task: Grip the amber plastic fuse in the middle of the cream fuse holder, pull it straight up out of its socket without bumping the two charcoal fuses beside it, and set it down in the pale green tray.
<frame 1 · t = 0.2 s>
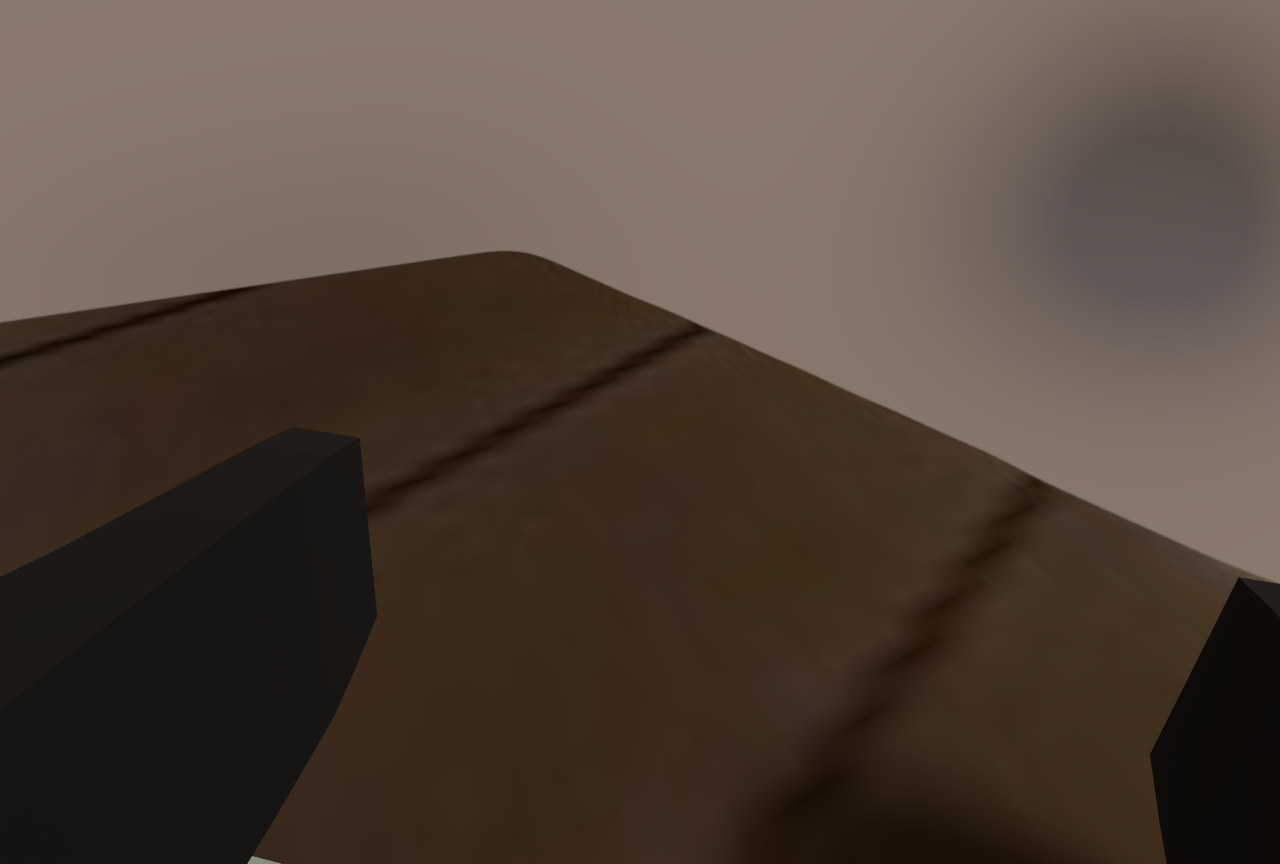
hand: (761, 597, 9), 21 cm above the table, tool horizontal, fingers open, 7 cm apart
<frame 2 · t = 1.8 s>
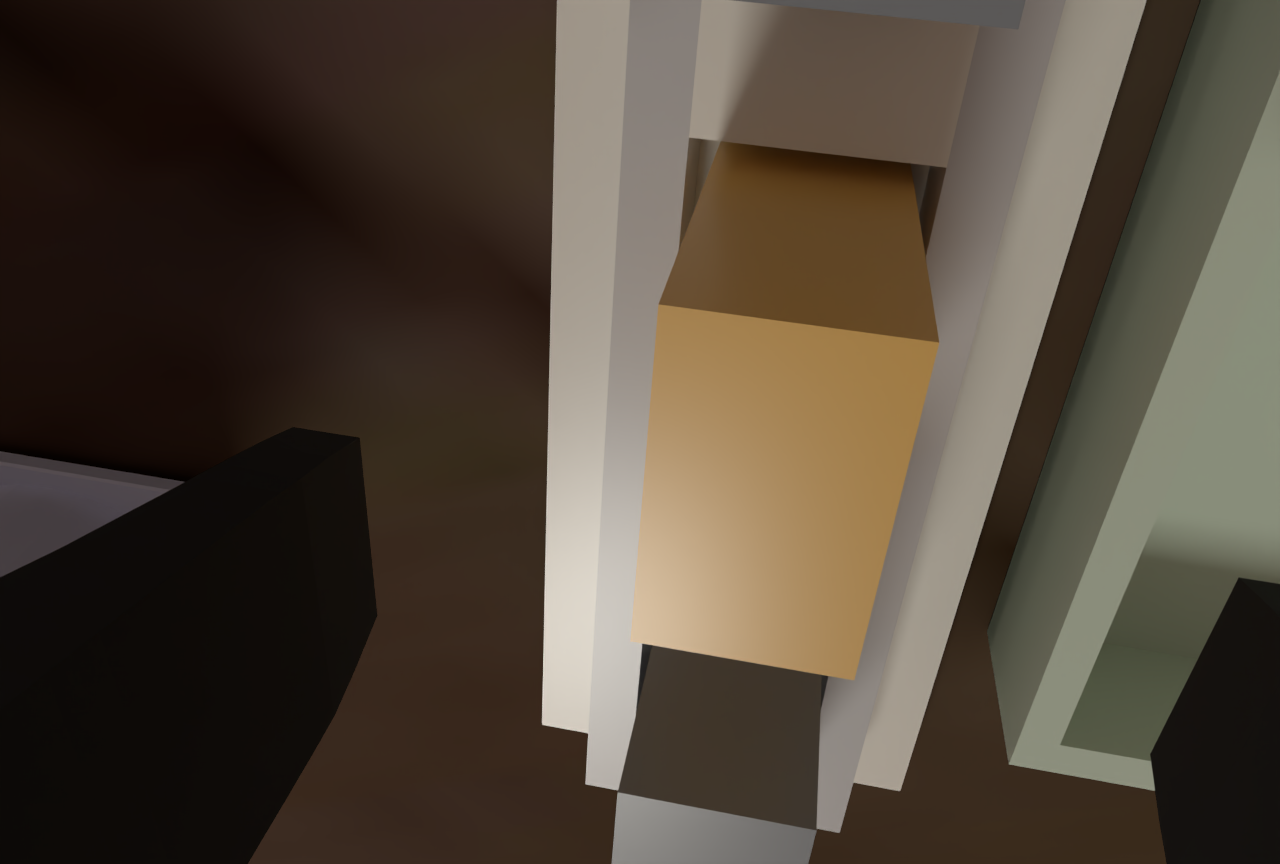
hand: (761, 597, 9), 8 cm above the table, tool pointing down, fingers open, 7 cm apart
fuse holder: (796, 255, 15), on the table
charcoal fuse 1: (738, 623, 18), point 1 cm above the table, touching fuse holder
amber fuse: (793, 282, 14), point 1 cm above the table, touching fuse holder
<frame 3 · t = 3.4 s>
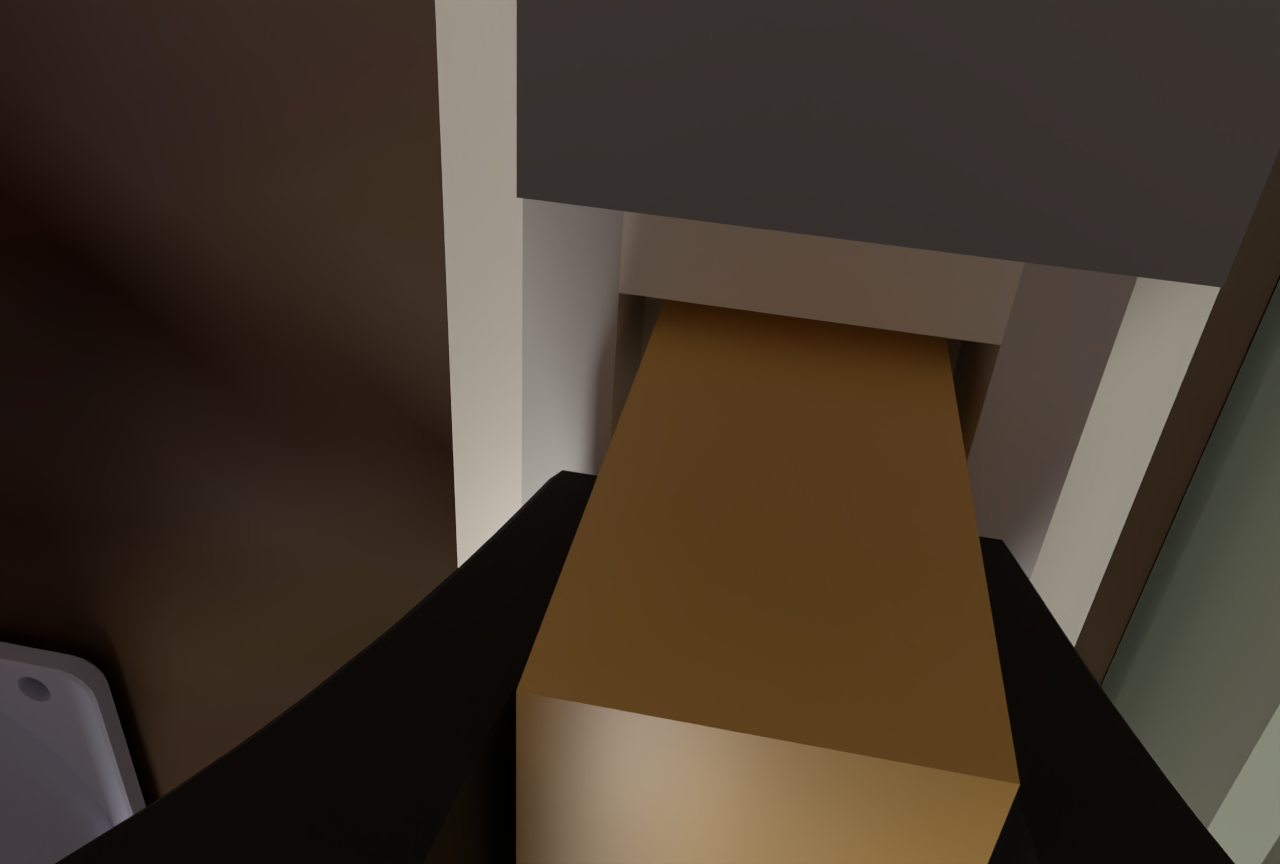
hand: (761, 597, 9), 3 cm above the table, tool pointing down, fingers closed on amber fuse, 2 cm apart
fuse holder: (783, 408, 11), on the table
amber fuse: (777, 456, 11), point 1 cm above the table, touching fuse holder, gripper
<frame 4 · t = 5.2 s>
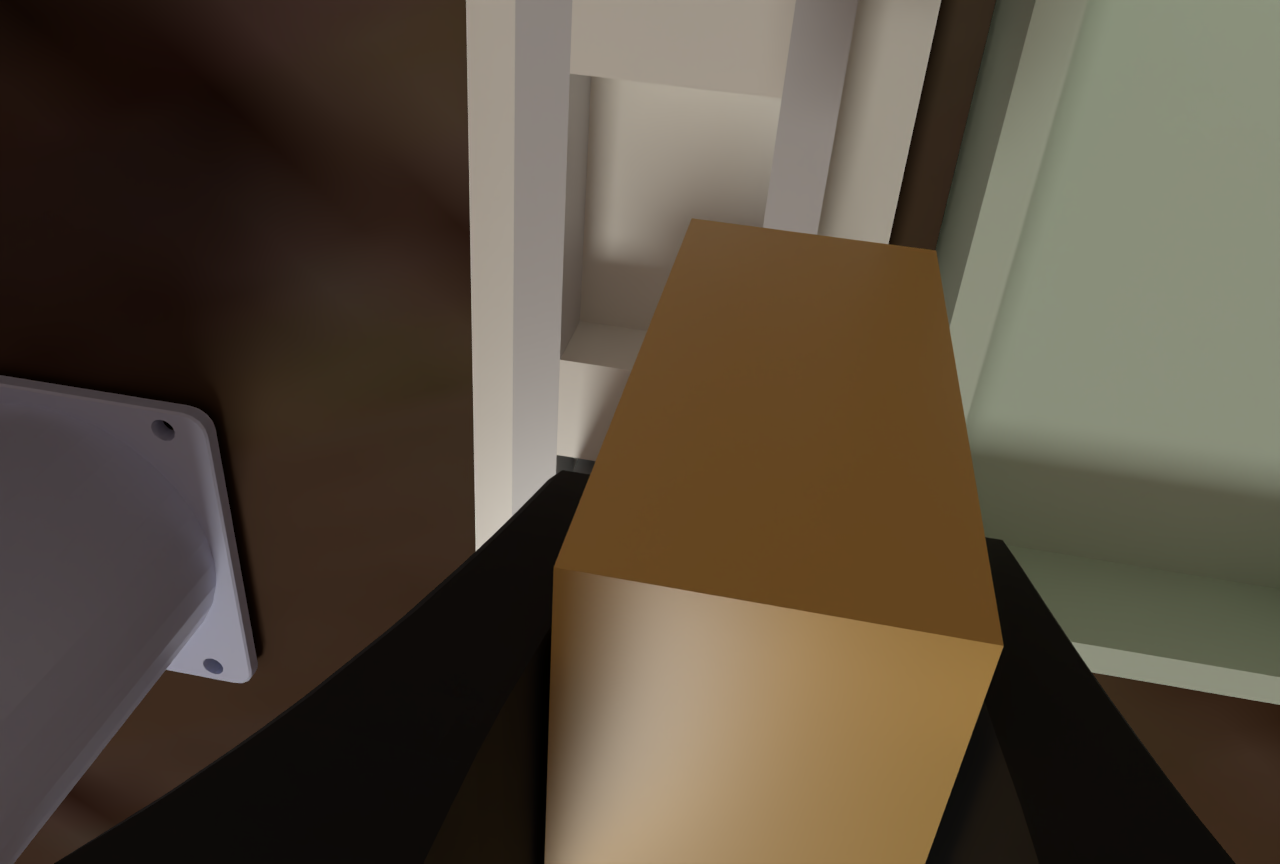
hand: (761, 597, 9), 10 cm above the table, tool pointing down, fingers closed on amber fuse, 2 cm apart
fuse holder: (683, 188, 18), on the table
tray: (1228, 259, 17), on the table
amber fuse: (782, 407, 11), point 7 cm above the table, touching gripper
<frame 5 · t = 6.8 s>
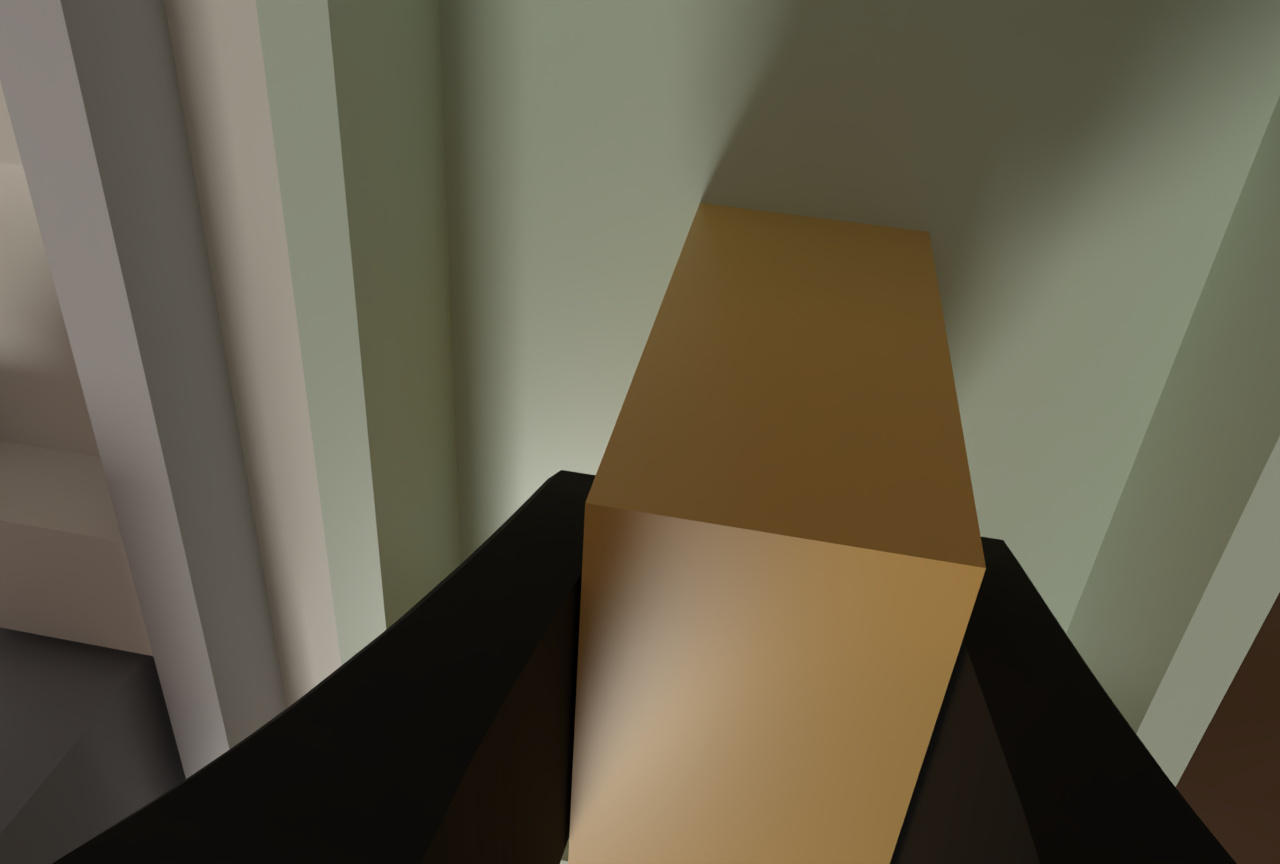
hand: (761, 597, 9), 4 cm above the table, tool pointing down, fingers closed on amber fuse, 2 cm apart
fuse holder: (94, 266, 13), on the table
charcoal fuse 1: (147, 677, 16), point 1 cm above the table, touching fuse holder
tray: (787, 365, 12), on the table
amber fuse: (785, 382, 12), resting on tray, touching gripper
when the fingers open (4 cm above the table, at t = 7.4 s): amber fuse stays where it is, resting on tray.
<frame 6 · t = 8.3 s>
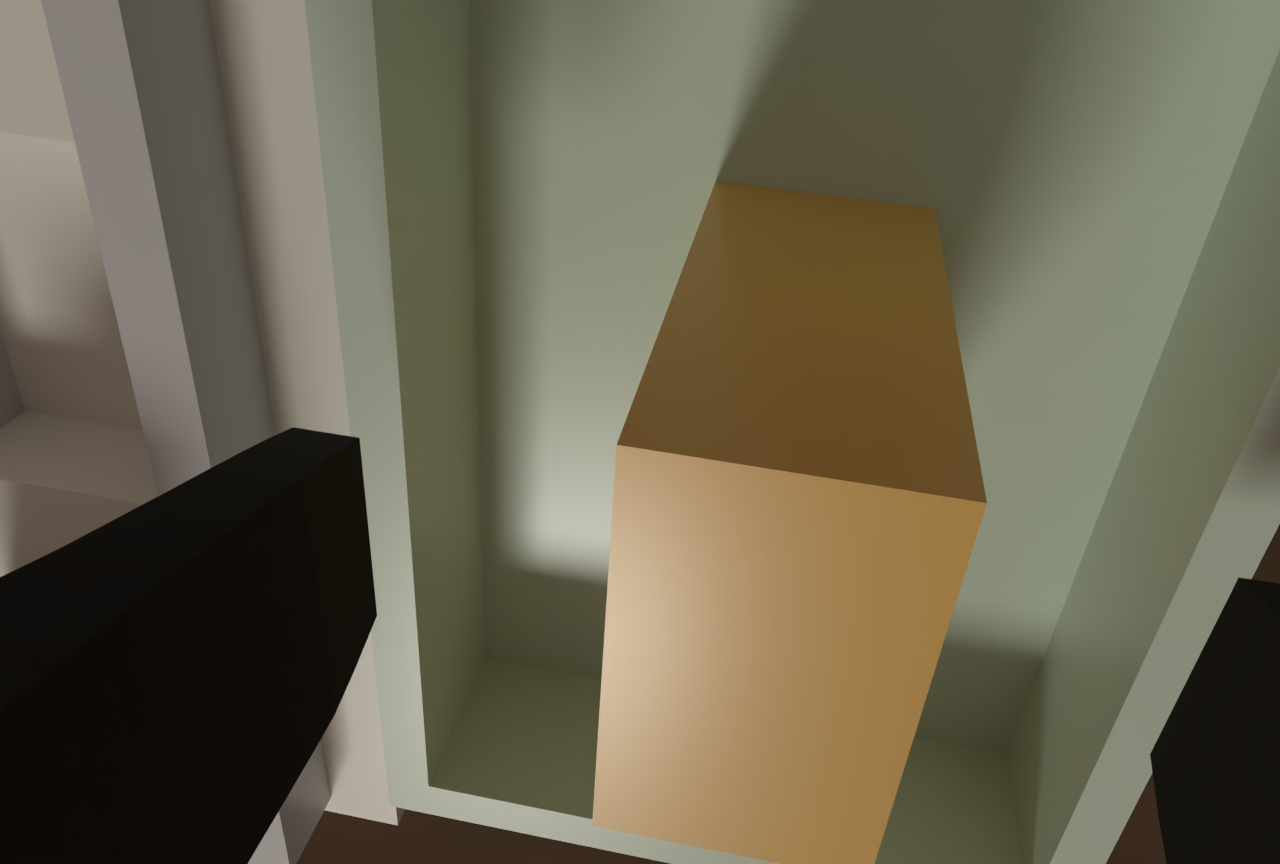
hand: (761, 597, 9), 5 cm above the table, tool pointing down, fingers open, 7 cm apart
fuse holder: (132, 245, 14), on the table
tray: (798, 339, 13), on the table
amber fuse: (796, 354, 12), resting on tray
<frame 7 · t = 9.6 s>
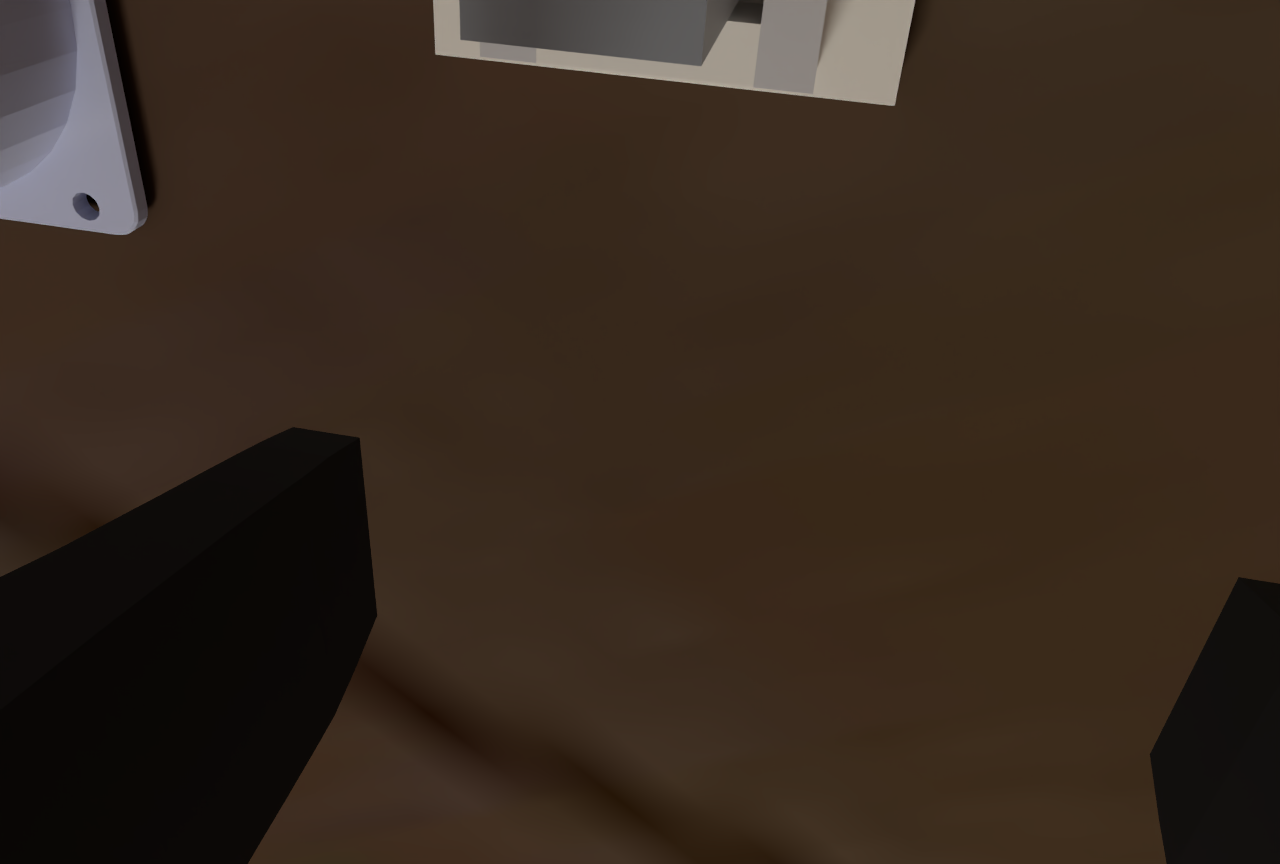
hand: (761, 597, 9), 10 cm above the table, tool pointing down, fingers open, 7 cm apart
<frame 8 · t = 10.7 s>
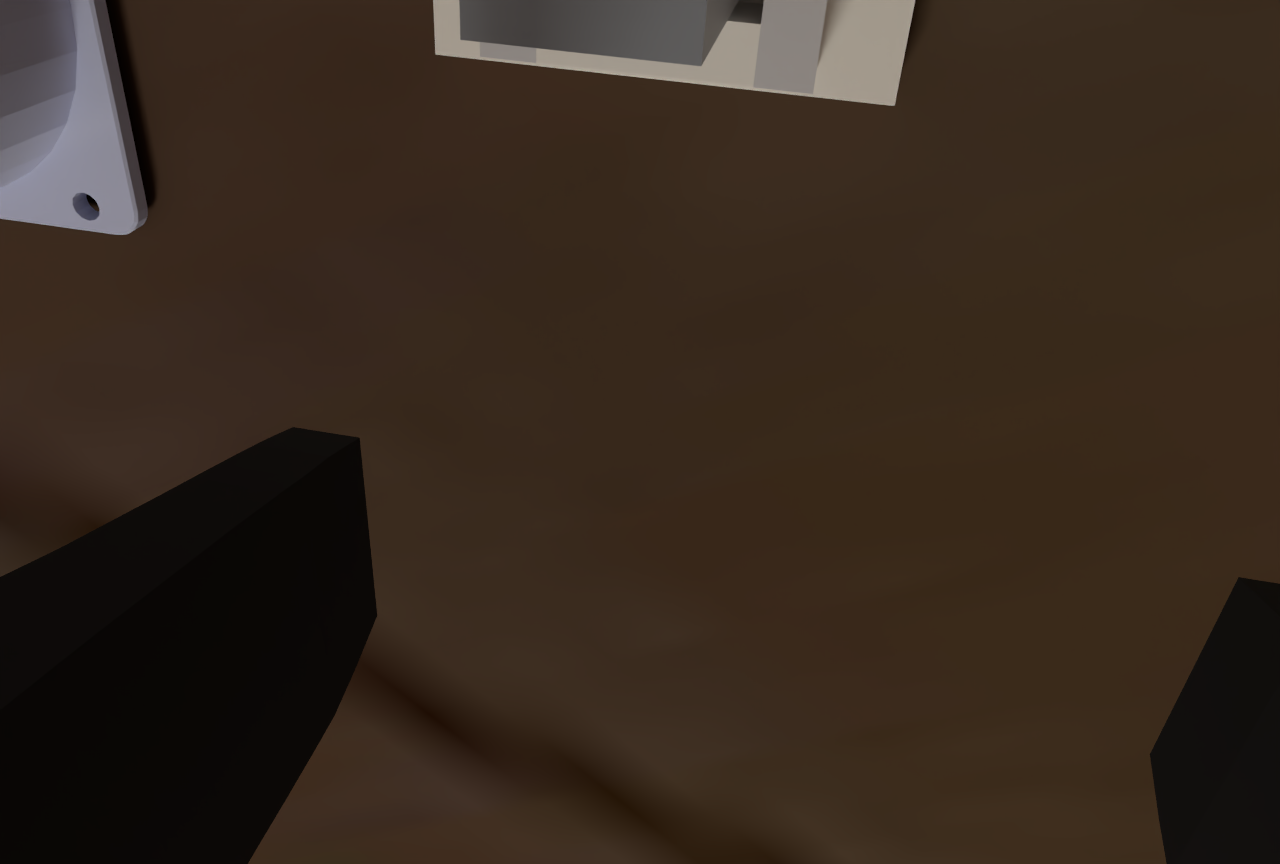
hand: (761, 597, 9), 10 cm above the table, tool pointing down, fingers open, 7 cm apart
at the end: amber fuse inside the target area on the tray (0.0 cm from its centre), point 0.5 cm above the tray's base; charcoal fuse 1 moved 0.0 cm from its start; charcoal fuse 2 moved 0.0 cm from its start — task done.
